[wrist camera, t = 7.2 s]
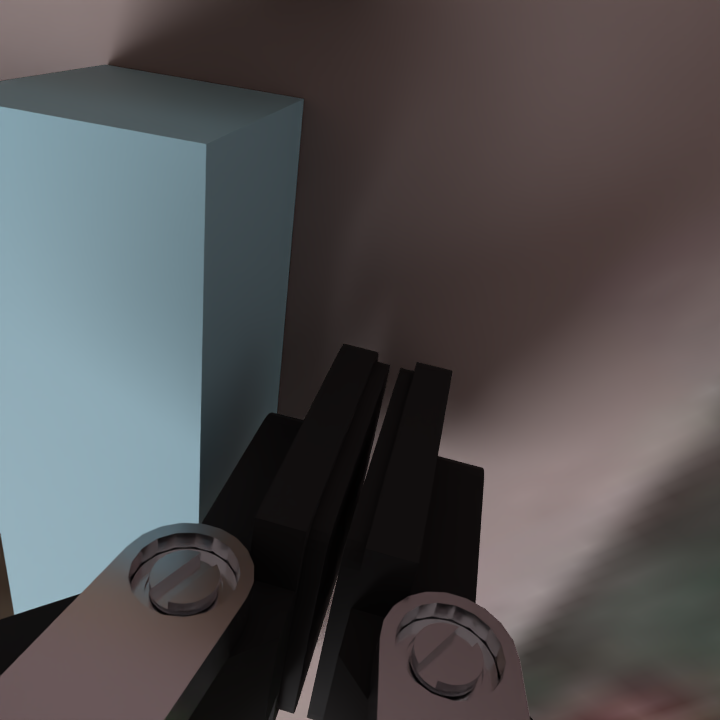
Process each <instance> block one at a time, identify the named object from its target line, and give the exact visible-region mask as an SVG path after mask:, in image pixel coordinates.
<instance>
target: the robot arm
mask: <svg viewBox="0 0 720 720" xmlns="http://www.w3.org/2000/svg"><path fill="white" fill-rule="evenodd" d="M378 355H379V352H375V351H371V350H367V349H363V348H359V347H355V346H351V345H347V344H343V345H342V347H341V349H340V351H339V352H338V354H337V356H336V358H335V360H334V362H333V364H332V366H331V368H330V370H329V372H328V374H327V376H326V378H325V380H324V382H323V384H322V386H321V388H320V390H319V392H318V394H317V396H316V398H315V400H314V402H313V404H312V406H311V408H310V410H309V412H308V414H307V416H306V417H305V419H304V421H303V420H299V419H295V418H292V417H288V416H284V415H280V414H277V413H273V412H271V413H269V414H268V415H267V416H266V418H265V419H264V420H263V422H262V424H261V425H260V427H259V429H258V430H257V432H256V434H255V435H254V437H253V439H252V440H251V442H250V444H249V445H248V447H247V449H246V450H245V452H244V454H243V455H242V457H241V459H240V460H239V462H238V464H237V465H236V467H235V468H234V470H233V472H232V473H231V475H230V477H229V478H228V480H227V482H226V483H225V485H224V487H223V488H222V490H221V492H220V493H219V495H218V497H217V498H216V500H215V502H214V503H213V505H212V507H211V508H210V510H209V511H208V513H207V515H206V516H205V518H204V520H203V521H202V523H177V524H171V525H166V526H161V527H158V528H156V529H154V530H151V531H149V532H147V533H144V534H142V535H141V536H140V537H138V538H137V539H136V540H134V541H133V542H132V543H130V544H129V545H128V546H127V547H126V548H125V549H124V550H123V551H122V552H121V553H120V554H119V555H118V556H117V557H116V558H115V559H114V560H113V561H112V562H111V563H110V564H109V565H108V566H107V567H106V568H105V569H104V570H103V571H102V572H101V573H100V574H99V575H98V576H97V577H96V578H95V579H94V581H93V582H92V583H91V584H90V585H89V586H88V587H87V588H86V589H85V590H84V591H83V592H82V593H81V594H77V595H74V596H71V597H68V598H65V599H62V600H59V601H56V602H53V603H50V604H46V605H43V606H40V607H37V608H34V609H31V610H28V611H25V612H22V613H18V614H15V615H12V616H9V617H6V618H3V619H0V720H276V717H277V714H278V711H279V709H280V710H284V711H287V712H290V713H293V714H294V712H295V710H296V707H297V704H298V701H299V698H300V694H301V691H302V688H303V685H304V682H305V678H306V675H307V672H308V669H309V666H310V662H311V659H312V656H313V653H314V650H315V646H316V643H317V640H318V637H319V634H320V630H321V627H322V624H323V621H324V617H325V614H326V611H327V608H328V605H329V601H330V598H331V595H332V592H333V589H334V585H335V582H336V579H337V582H336V587H335V591H334V596H333V601H332V605H331V610H330V614H329V619H328V623H327V628H326V632H325V637H324V642H323V646H322V651H321V655H320V660H319V664H318V669H317V674H316V678H315V683H314V687H313V692H312V696H311V701H310V705H309V710H308V715H307V718H310V719H313V720H533V719H532V718H531V717H530V715H529V709H528V704H527V698H526V692H525V686H524V681H523V675H522V669H521V663H520V659H519V656H518V653H517V650H516V647H515V644H514V641H513V639H512V638H511V637H510V635H509V634H508V632H507V631H506V629H505V628H504V626H503V625H502V624H501V623H500V622H499V621H498V620H497V619H496V618H495V617H494V616H493V615H492V614H490V613H489V612H488V611H487V610H486V609H485V608H483V607H481V606H479V605H477V604H476V588H477V574H478V559H479V544H480V530H481V515H482V500H483V486H484V469H483V468H481V467H477V466H473V465H470V464H466V463H462V462H458V461H455V460H451V459H447V458H443V457H439V456H438V451H439V445H440V439H441V434H442V428H443V422H444V416H445V411H446V405H447V399H448V393H449V388H450V382H451V376H452V371H451V370H447V369H443V368H439V367H435V366H431V365H427V364H423V363H419V362H417V364H416V367H415V371H412V370H408V369H404V368H400V371H399V374H398V378H397V381H396V384H395V387H394V390H393V393H392V397H391V400H390V403H389V406H388V409H387V412H386V416H385V419H384V422H383V425H382V428H381V431H380V434H379V438H378V441H377V444H376V447H375V450H374V453H373V457H372V460H371V463H370V466H369V469H368V472H367V476H366V471H367V467H368V462H369V458H370V454H371V449H372V445H373V440H374V436H375V431H376V427H377V422H378V418H379V413H380V409H381V405H382V400H383V396H384V391H385V387H386V382H387V378H388V373H389V368H390V365H388V364H384V363H380V362H377V361H378ZM365 476H366V479H365ZM364 480H365V482H364ZM337 576H338V578H337Z"/></svg>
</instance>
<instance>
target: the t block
mask: <svg viewBox="0 0 720 720" xmlns="http://www.w3.org/2000/svg"><path fill="white" fill-rule="evenodd" d="M303 103H304V99H302V98H296V97H290V96H285V95H279V94H273V93H267V92H261V91H256V90H250V89H244V88H238V87H232V86H227V85H221V84H215V83H209V82H203V81H198V80H192V79H186V78H180V77H174V76H169V75H163V74H157V73H151V72H145V71H140V70H134V69H128V68H122V67H116V66H111V65H100V66H94V67H87V68H81V69H75V70H68V71H62V72H55V73H49V74H42V75H36V76H30V77H23V78H17V79H10V80H4V81H0V533H1V539H2V545H3V551H4V557H5V563H6V568H7V574H8V580H9V586H10V592H11V598H12V604H13V610H14V615H15V614H18V613H22V612H25V611H28V610H31V609H34V608H37V607H40V606H43V605H46V604H50V603H53V602H56V601H59V600H62V599H65V598H68V597H71V596H74V595H77V594H81V593H82V592H83V591H84V590H85V589H86V588H87V587H88V586H89V585H90V584H91V583H92V582H93V581H94V579H95V578H96V577H97V576H98V575H99V574H100V573H101V572H102V571H103V570H104V569H105V568H106V567H107V566H108V565H109V564H110V563H111V562H112V561H113V560H114V559H115V558H116V557H117V556H118V555H119V554H120V553H121V552H122V551H123V550H124V549H125V548H126V547H127V546H128V545H129V544H130V543H132V542H133V541H134V540H136V539H137V538H138V537H140V536H141V535H142V534H144V533H147V532H149V531H151V530H154V529H156V528H158V527H161V526H166V525H171V524H177V523H202V521H203V520H204V518H205V516H206V515H207V513H208V511H209V510H210V508H211V507H212V505H213V503H214V502H215V500H216V498H217V497H218V495H219V493H220V492H221V490H222V488H223V487H224V485H225V483H226V482H227V480H228V478H229V477H230V475H231V473H232V472H233V470H234V468H235V467H236V465H237V464H238V462H239V460H240V459H241V457H242V455H243V454H244V452H245V450H246V449H247V447H248V445H249V444H250V442H251V440H252V439H253V437H254V435H255V434H256V432H257V430H258V429H259V427H260V425H261V424H262V422H263V420H264V419H265V418H266V416H267V415H268V414H269V413H271V412H273V413H277V407H278V395H279V383H280V372H281V360H282V348H283V337H284V325H285V313H286V302H287V290H288V278H289V267H290V255H291V243H292V232H293V220H294V208H295V197H296V185H297V173H298V162H299V150H300V138H301V127H302V115H303Z"/></svg>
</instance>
